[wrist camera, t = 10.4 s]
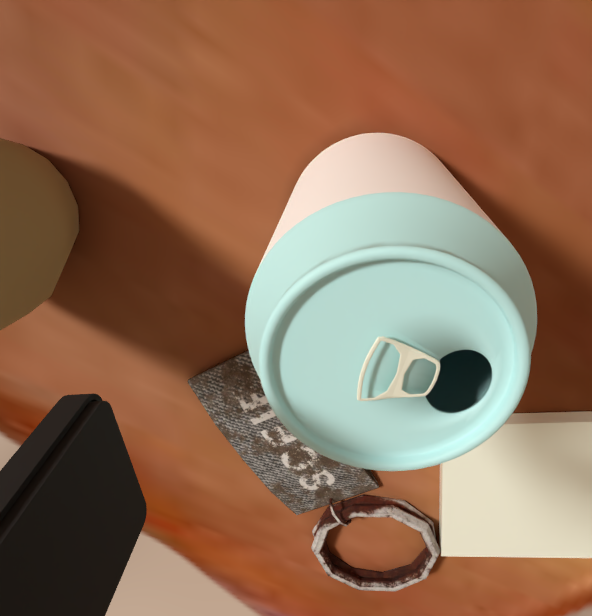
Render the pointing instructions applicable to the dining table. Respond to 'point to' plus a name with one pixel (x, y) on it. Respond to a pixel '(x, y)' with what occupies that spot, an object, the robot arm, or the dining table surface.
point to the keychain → (306, 474)
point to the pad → (521, 491)
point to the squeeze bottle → (32, 229)
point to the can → (389, 310)
